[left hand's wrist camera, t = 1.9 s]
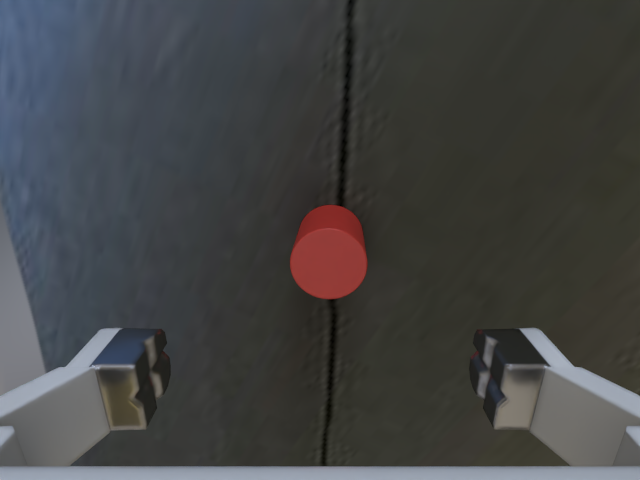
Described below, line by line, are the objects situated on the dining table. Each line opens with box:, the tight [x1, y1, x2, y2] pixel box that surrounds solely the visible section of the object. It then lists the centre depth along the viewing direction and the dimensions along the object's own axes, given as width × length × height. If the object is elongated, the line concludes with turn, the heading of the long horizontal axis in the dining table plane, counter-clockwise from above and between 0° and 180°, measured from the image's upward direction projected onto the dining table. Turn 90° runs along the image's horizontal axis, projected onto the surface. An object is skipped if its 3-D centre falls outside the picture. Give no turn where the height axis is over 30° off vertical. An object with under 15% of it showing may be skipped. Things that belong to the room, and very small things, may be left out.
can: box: [290, 205, 367, 299], centre depth 22 cm, size 4×4×4 cm
